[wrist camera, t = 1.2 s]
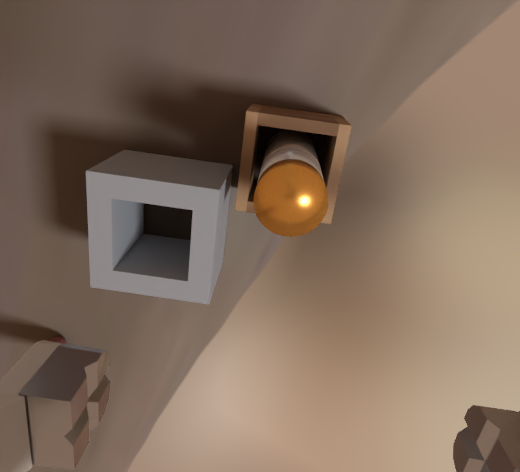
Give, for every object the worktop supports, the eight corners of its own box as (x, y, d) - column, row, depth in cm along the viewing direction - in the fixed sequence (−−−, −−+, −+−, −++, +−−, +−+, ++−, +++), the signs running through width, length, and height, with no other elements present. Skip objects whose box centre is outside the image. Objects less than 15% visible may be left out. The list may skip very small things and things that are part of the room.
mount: (252, 103, 32) (246, 110, 27) (342, 116, 32) (351, 126, 27) (242, 190, 34) (235, 210, 30) (325, 202, 34) (330, 223, 30)
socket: (124, 149, 34) (85, 170, 27) (232, 165, 34) (219, 189, 27) (124, 248, 37) (90, 286, 31) (222, 262, 37) (209, 304, 31)
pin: (269, 126, 32) (258, 160, 21) (319, 133, 32) (335, 171, 21) (262, 175, 34) (249, 230, 23) (310, 182, 34) (320, 241, 23)
